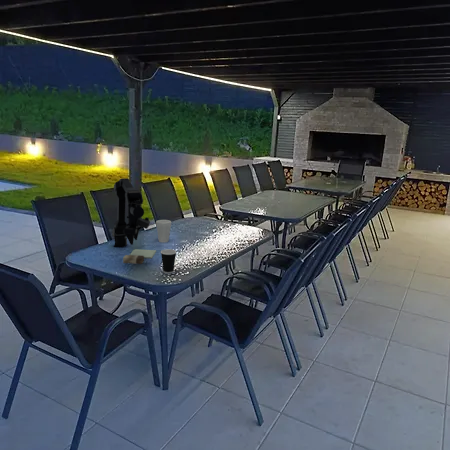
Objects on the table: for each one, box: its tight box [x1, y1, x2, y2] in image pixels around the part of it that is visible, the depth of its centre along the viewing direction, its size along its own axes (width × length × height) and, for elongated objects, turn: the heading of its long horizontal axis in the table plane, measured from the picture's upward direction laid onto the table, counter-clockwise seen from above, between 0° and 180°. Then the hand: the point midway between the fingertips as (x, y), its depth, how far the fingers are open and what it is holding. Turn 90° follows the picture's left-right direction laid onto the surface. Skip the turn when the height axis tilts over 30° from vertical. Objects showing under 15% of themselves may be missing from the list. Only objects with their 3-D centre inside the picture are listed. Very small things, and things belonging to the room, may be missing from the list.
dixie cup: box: [160, 248, 177, 275], centre depth 200 cm, size 8×8×11 cm
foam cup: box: [155, 219, 172, 244], centre depth 254 cm, size 10×9×13 cm
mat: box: [129, 249, 157, 260], centre depth 227 cm, size 13×13×1 cm
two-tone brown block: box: [122, 254, 145, 265], centre depth 214 cm, size 10×5×3 cm, turn 89°
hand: (133, 242), depth 212 cm, fingers open, 9 cm apart
